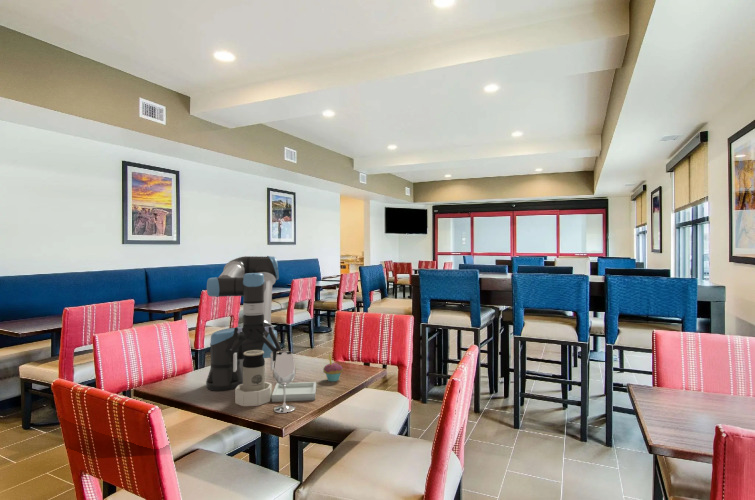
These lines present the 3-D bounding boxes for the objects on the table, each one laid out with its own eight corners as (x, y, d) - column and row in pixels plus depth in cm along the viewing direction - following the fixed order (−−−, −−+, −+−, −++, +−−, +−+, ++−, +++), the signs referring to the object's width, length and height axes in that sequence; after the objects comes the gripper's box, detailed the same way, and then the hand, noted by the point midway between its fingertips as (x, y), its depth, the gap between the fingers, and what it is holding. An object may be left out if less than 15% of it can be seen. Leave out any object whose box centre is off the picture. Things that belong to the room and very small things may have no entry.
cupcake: (330, 384, 175) (330, 355, 175) (319, 379, 182) (319, 352, 182) (346, 380, 181) (346, 352, 181) (336, 375, 187) (335, 349, 187)
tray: (271, 401, 155) (271, 395, 155) (276, 389, 169) (276, 383, 169) (314, 400, 157) (314, 393, 157) (316, 387, 171) (316, 381, 171)
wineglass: (287, 414, 143) (287, 356, 143) (268, 411, 146) (268, 354, 146) (299, 406, 150) (299, 351, 150) (281, 403, 153) (281, 349, 153)
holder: (232, 406, 150) (232, 392, 150) (240, 394, 163) (240, 381, 163) (268, 405, 152) (268, 391, 152) (273, 393, 164) (273, 380, 164)
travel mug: (242, 397, 159) (242, 350, 159) (263, 395, 162) (263, 349, 162) (243, 404, 152) (243, 355, 152) (265, 402, 155) (265, 353, 155)
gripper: (216, 316, 152) (216, 374, 152) (286, 314, 155) (286, 371, 155) (222, 313, 159) (222, 368, 159) (288, 311, 162) (288, 366, 162)
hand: (253, 370), depth 157 cm, fingers open, 13 cm apart
